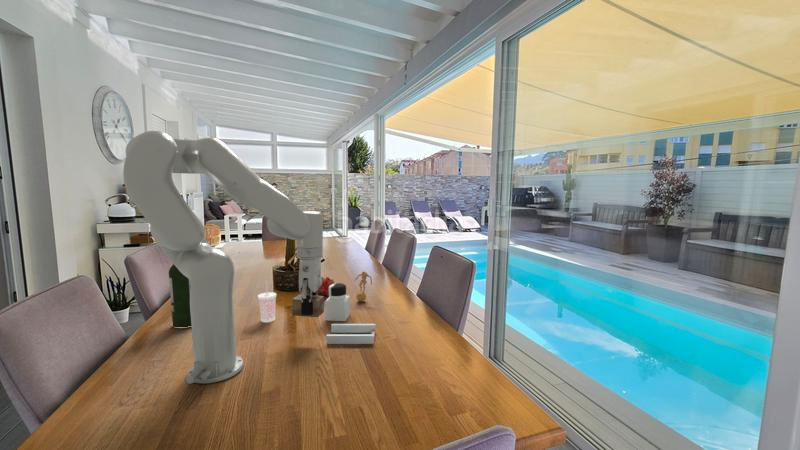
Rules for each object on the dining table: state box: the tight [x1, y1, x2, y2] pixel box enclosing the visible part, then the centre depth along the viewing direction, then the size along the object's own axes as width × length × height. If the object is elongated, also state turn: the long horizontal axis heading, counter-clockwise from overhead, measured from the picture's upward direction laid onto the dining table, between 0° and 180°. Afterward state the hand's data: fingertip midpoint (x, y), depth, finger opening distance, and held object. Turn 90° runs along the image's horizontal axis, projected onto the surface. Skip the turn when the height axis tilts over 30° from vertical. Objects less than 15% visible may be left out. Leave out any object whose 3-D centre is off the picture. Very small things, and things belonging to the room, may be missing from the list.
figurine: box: [353, 271, 373, 303], centre depth 144 cm, size 8×6×12 cm
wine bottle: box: [168, 263, 192, 328], centre depth 119 cm, size 8×8×30 cm
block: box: [291, 293, 325, 318], centre depth 109 cm, size 5×8×5 cm, turn 82°
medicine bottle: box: [324, 282, 351, 322], centre depth 126 cm, size 7×7×12 cm
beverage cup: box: [257, 280, 277, 323], centre depth 124 cm, size 6×6×14 cm
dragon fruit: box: [317, 276, 335, 297], centre depth 152 cm, size 8×8×12 cm
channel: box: [325, 323, 376, 345], centre depth 111 cm, size 9×14×2 cm, turn 90°
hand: (309, 310), depth 109 cm, fingers closed on block, 5 cm apart
